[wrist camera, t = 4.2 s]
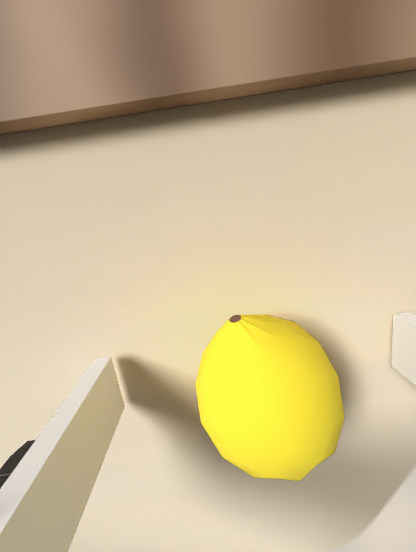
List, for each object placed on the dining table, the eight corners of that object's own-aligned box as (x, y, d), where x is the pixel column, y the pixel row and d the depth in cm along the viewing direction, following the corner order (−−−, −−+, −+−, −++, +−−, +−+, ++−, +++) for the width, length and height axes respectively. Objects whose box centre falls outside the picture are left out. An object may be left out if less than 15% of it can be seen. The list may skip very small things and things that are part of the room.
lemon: (313, 377, 13) (390, 498, 8) (220, 409, 14) (239, 543, 9) (284, 264, 11) (370, 338, 6) (169, 306, 11) (155, 412, 6)
